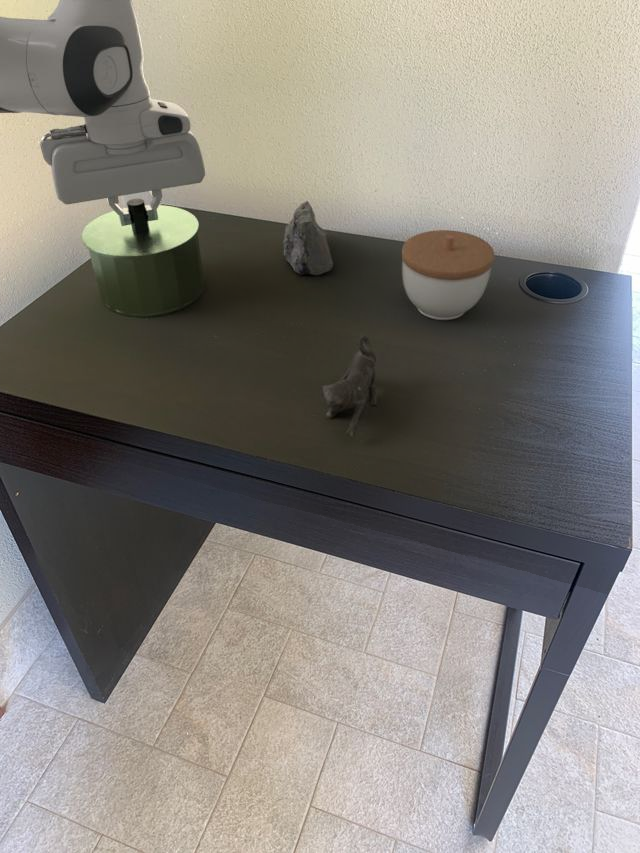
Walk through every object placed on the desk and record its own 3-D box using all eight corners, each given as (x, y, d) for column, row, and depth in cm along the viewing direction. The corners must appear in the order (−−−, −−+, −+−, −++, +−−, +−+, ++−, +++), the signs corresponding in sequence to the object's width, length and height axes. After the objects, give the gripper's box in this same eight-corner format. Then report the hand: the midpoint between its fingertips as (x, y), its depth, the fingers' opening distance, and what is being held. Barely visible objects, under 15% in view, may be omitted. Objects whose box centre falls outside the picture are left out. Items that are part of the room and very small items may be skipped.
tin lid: (92, 272, 91) (83, 237, 88) (76, 223, 103) (67, 190, 99) (212, 249, 96) (208, 214, 92) (184, 204, 107) (179, 172, 104)
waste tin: (110, 327, 97) (95, 266, 91) (94, 276, 108) (79, 219, 102) (216, 304, 102) (208, 244, 95) (190, 257, 113) (181, 202, 106)
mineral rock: (295, 236, 118) (292, 178, 112) (353, 245, 115) (355, 187, 109) (263, 270, 109) (259, 209, 103) (326, 281, 106) (326, 220, 100)
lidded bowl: (382, 313, 99) (386, 243, 92) (423, 277, 107) (429, 209, 100) (462, 340, 94) (472, 267, 86) (498, 300, 101) (511, 230, 94)
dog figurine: (343, 376, 88) (343, 327, 83) (386, 385, 86) (389, 336, 81) (308, 434, 80) (307, 384, 75) (355, 446, 78) (357, 395, 73)
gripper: (38, 139, 83) (67, 244, 93) (201, 117, 89) (213, 217, 98) (34, 124, 88) (62, 225, 97) (189, 103, 94) (202, 201, 103)
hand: (139, 221), depth 98 cm, fingers closed on tin lid, 2 cm apart
